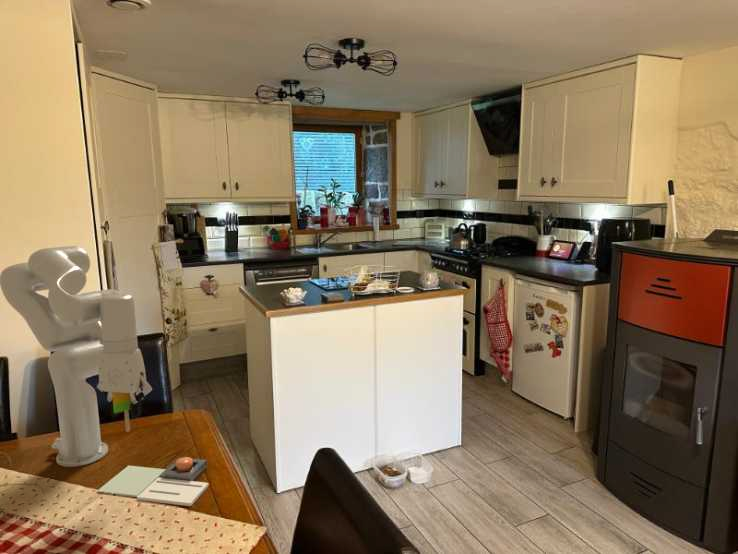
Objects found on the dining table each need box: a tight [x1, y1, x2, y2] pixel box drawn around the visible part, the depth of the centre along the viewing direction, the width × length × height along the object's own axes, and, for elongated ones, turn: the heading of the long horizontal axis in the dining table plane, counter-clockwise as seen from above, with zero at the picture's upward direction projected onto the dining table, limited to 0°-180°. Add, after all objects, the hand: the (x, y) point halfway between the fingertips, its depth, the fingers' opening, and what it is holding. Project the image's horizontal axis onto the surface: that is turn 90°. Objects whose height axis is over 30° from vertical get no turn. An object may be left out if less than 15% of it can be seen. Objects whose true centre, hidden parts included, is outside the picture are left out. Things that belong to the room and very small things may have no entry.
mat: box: [96, 465, 167, 498], centre depth 130 cm, size 11×12×1 cm
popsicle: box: [112, 392, 137, 433], centre depth 126 cm, size 6×2×15 cm, turn 127°
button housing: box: [161, 456, 208, 481], centre depth 133 cm, size 8×8×2 cm
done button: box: [175, 456, 193, 472], centre depth 133 cm, size 4×4×2 cm
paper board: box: [136, 477, 210, 507], centre depth 125 cm, size 14×9×1 cm, turn 79°
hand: (126, 415), depth 127 cm, fingers closed on popsicle, 4 cm apart
